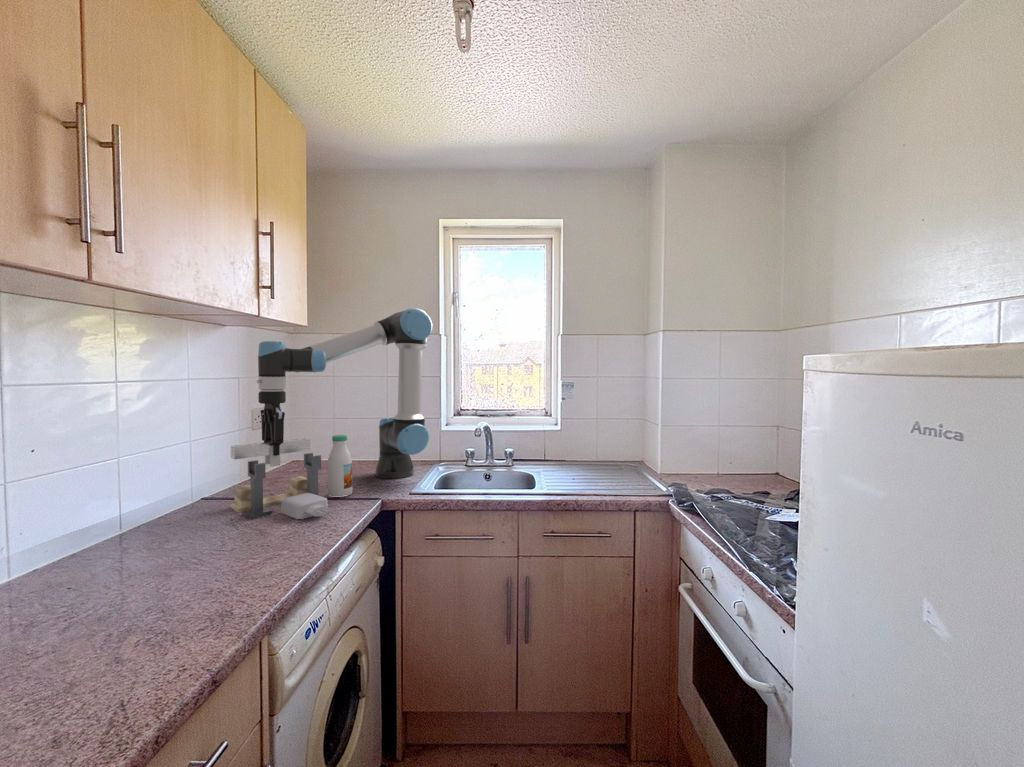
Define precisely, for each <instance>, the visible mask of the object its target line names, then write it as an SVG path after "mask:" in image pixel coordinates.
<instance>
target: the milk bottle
mask: <svg viewBox="0 0 1024 767" xmlns="http://www.w3.org/2000/svg"><path fill="white" fill-rule="evenodd" d="M331 440H332V447H331V450H330V452H329V455H328V458H327V496H328V495H331V496H343V495H349V494H351V493H353V460H352V455H351V453H350V451H349V449H348V446H347V442H348V436H347V435H346V434H336V435H332V438H331ZM351 495H352V494H351ZM349 496H350V495H349Z"/></svg>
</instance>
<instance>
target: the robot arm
mask: <svg viewBox="0 0 1024 767" xmlns="http://www.w3.org/2000/svg"><path fill="white" fill-rule="evenodd" d="M432 331H433V322H432V319H431V317H430V316H429V315H428V313H426V311H424V310H422V309H420V308H408V309H407V308H406V309H405V310H402V311H399V312H395V313H393V314H391V315H389V316H387V317H385V318H383V319H380V320H378V321H374V323H373V325H370V326H367V327H364V328H362V329H358V330H354V331H351V332H350V333H345V334H342V335H340V336H336V337H334V338H330V339H327V340H325V341H322V342H319V343H315V344H311V345H309V346H306V347H302V348H288V347H287V346H286V343H285V342H284V341H273V340H272V341H271V340H268V341H267V340H264V341H261V342H259V344H258V355H257V363H258V364H257V366H258V369H257V370H258V373H257V374H258V379H257V380H256V383H257V384H258V390H259V391H258V403H259V404H261V405H262V404H264V407H263V409H261V410H260V417H261V422H260V423H261V441H263V443H264V442H271V444H269V446H270V455H267V456H264V463H265V465H269V466H270V467H277V466H281V454H280V445H281V443H283V440H284V439H285V438H284V437H285V436H284V434H285V433H284V431H285V427H284V426H285V425H284V424H285V415H286V414H285V411H282V408H281V404H284V403H286V401H287V400H286V399H287V398H286V394H287V393H286V391H285V390H286V386H287V385H286V384H287V377H286V374H287V372H289V373H290V372H291V373H322V372H324V371H325V370H326V366H327V363H330V362H332V361H337V360H340V359H342V358H344V357H347V356H350V355H353V354H356V353H358V352H359V353H360V352H361V351H365V350H367V349H370V348H373V347H376V346H379V345H381V346H386V345H387V346H388V345H390V344H395V345H394V346H396V348H398V350H399V351H398V377H397V378H398V379H397V380H398V382H397V385H398V387H397V388H398V389H397V413H396V414H395V415H394V416H393V417H386V418H385V417H384V418H381V419H380V420H379V425H378V429H379V431H378V432H379V433H378V435H379V440H378V441H379V456H378V457H379V458H378V460H377V463H376V467H375V470H374V473H375V474H374V476H375V477H376V476H377V477H376V478H379V477H380V478H379V479H388V478H392V479H402V478H408V477H411V476H412V475H414V474H415V466H414V463H413V461H412V457H411V456H415V455H418V454H420V453H422V452H423V451H424V450H425V449H426V447H427V446H428V444H429V441H430V433H429V430H427V428H426V427H425V424H426V423H425V421H426V419H425V417H424V415H423V414H422V383H423V382H422V381H423V380H422V379H423V351H424V349H425V348H426V347H427V346H428V337H429V336H430V335H431V334H432Z"/></svg>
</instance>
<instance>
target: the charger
mask: <svg viewBox="0 0 1024 767" xmlns="http://www.w3.org/2000/svg"><path fill="white" fill-rule="evenodd" d="M318 495H319V494H318ZM318 495H315V494H311V493H304V494H300V495H296V496H291V497H287V498H284V499H283V500H282V501H281V504H280V510H281V511H280V512H281V514H282V515H285V516H288V517H290V518H293V519H294V520H295V519H296V520H298V519H301V520H305V519H308V518H307V517H309V518H312V517H311V516H313V517H320V516H323V515H325V514H327V513H328V512H329V510H330V507H328V498H327V497H324V496H321V495H319V496H318ZM304 518H305V519H304Z"/></svg>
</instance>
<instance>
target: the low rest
mask: <svg viewBox="0 0 1024 767" xmlns="http://www.w3.org/2000/svg"><path fill="white" fill-rule="evenodd" d="M288 479H289V482H288V484H289V485H288V486H289V492H288V493H287V492H286V493H282V494H276V495H272V496H266V497H263V507H264V506H267V507H270V506H269V505H272V506H275V505H274V504H276V505H280V504H279V503H281V501H282V500H283V499H284V498H287V497H291V496H296V495H300V494H304V493H307V477H305V476H301V475H299V476H295V477H290V478H288ZM233 497H234V503H231V504H230V506H229V507H231V508H230V509H232V510H233V509H234V510H233V511H235V512H236V511H237V512H236V513H242V511H244V510H249V509H251V484H250V485H249V484H246V485H242V486H237V487H236V486H235V487H234V496H233Z"/></svg>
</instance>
